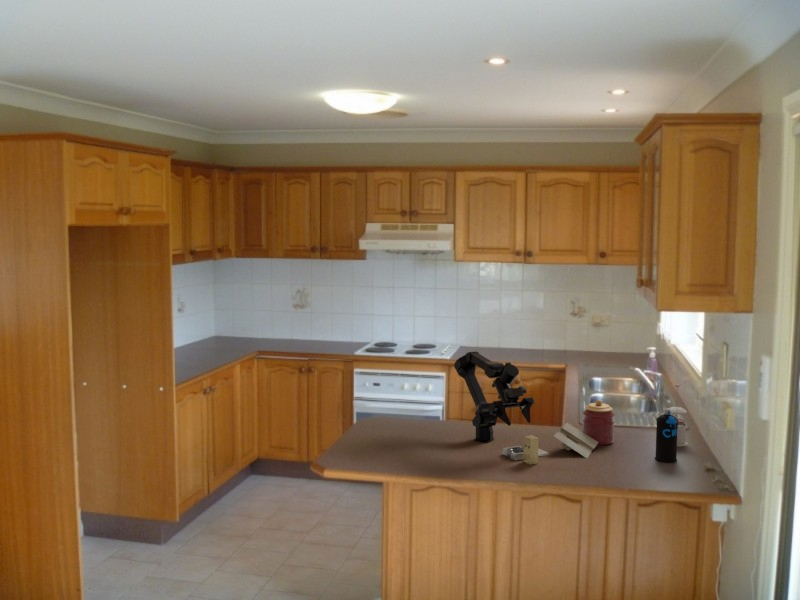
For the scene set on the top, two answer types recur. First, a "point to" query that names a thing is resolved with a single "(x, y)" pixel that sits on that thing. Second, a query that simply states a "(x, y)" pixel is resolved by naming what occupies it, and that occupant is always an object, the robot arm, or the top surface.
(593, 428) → the canister
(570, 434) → the pale grey slotted block
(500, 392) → the robot arm
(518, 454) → the hinge base
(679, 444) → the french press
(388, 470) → the top surface
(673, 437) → the aerosol can
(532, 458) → the tan rectangular pillar
